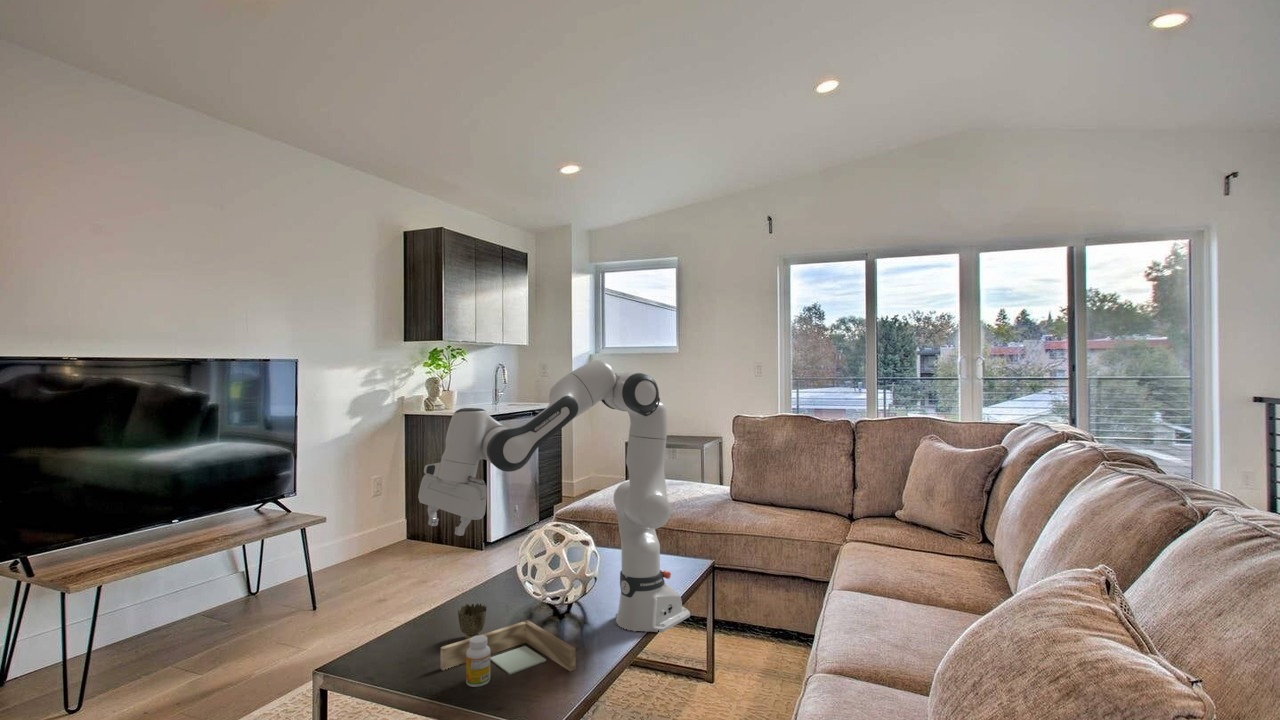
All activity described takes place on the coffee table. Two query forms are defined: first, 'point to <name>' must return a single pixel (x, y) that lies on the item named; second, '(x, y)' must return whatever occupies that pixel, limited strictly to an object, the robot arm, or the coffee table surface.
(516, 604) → the coffee table surface
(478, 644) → the supplement bottle
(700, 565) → the coffee table surface
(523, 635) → the oak corner walls
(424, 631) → the coffee table surface
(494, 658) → the mat
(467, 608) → the cup
